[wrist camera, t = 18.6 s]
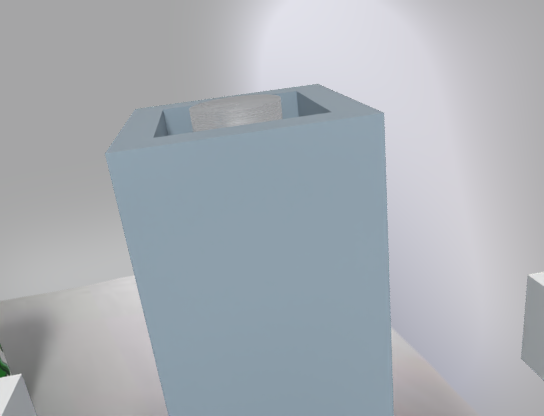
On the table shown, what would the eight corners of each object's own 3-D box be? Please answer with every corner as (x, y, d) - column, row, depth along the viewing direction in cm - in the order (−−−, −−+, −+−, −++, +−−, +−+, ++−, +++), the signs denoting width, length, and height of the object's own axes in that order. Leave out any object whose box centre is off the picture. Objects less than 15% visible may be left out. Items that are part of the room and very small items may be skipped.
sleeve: (395, 473, 19) (383, 112, 14) (194, 519, 18) (105, 153, 13) (338, 350, 26) (317, 83, 21) (193, 379, 25) (135, 109, 20)
